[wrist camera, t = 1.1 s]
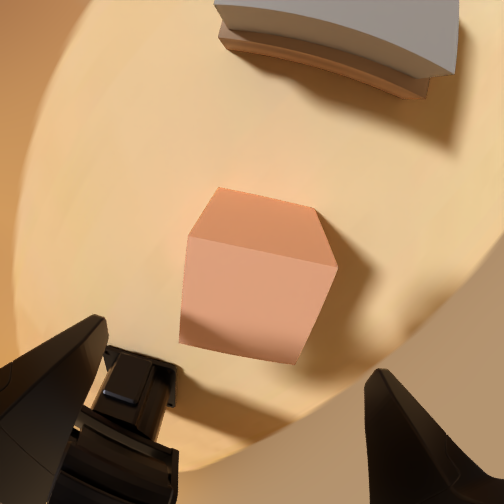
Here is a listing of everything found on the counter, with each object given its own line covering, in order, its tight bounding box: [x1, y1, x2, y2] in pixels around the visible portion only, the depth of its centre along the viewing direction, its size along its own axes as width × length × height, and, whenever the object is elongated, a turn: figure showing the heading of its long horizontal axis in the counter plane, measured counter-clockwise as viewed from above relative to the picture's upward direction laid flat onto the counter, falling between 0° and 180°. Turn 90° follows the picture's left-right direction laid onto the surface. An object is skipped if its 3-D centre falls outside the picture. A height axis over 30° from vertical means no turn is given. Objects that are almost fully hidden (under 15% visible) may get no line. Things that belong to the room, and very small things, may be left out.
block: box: [179, 187, 338, 365], centre depth 13 cm, size 5×5×6 cm
